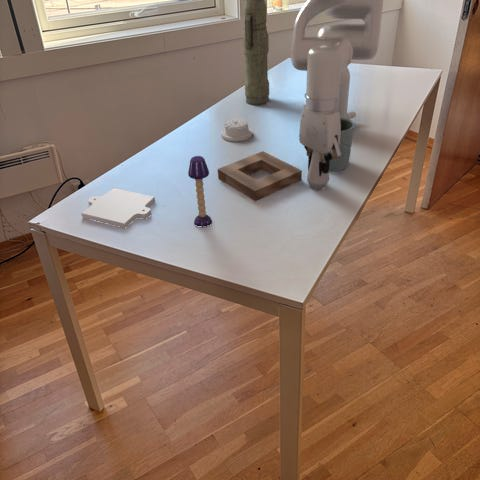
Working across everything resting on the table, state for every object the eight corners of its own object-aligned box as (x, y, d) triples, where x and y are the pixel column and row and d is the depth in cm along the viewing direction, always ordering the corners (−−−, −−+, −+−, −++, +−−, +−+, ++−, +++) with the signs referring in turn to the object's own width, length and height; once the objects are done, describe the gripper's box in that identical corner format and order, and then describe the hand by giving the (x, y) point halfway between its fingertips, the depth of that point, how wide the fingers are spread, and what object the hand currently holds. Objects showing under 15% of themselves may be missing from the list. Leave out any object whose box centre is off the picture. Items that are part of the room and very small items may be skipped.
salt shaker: (330, 182, 127) (334, 136, 119) (326, 192, 122) (329, 145, 115) (308, 179, 128) (310, 134, 121) (304, 190, 124) (305, 143, 116)
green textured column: (274, 96, 181) (273, -6, 161) (263, 107, 173) (261, 0, 152) (252, 94, 184) (248, -7, 164) (240, 105, 176) (235, 0, 155)
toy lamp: (194, 217, 116) (186, 154, 106) (213, 215, 116) (207, 152, 106) (194, 228, 112) (186, 164, 102) (214, 226, 112) (208, 162, 103)
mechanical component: (218, 141, 151) (249, 143, 150) (217, 128, 149) (248, 129, 147) (225, 129, 159) (254, 130, 157) (224, 116, 157) (254, 117, 155)
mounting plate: (164, 205, 122) (162, 198, 121) (134, 232, 113) (133, 225, 112) (107, 192, 129) (105, 186, 128) (75, 217, 119) (73, 211, 118)
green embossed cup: (328, 175, 130) (331, 134, 122) (307, 161, 137) (309, 121, 130) (358, 166, 133) (362, 125, 126) (336, 153, 140) (339, 113, 133)
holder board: (263, 160, 139) (262, 151, 137) (301, 180, 128) (301, 170, 126) (218, 178, 131) (217, 169, 129) (255, 201, 121) (255, 191, 119)
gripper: (286, 97, 116) (286, 166, 127) (336, 116, 105) (331, 189, 116) (309, 90, 119) (306, 157, 130) (359, 107, 109) (352, 178, 119)
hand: (318, 171), depth 123 cm, fingers closed on salt shaker, 3 cm apart
